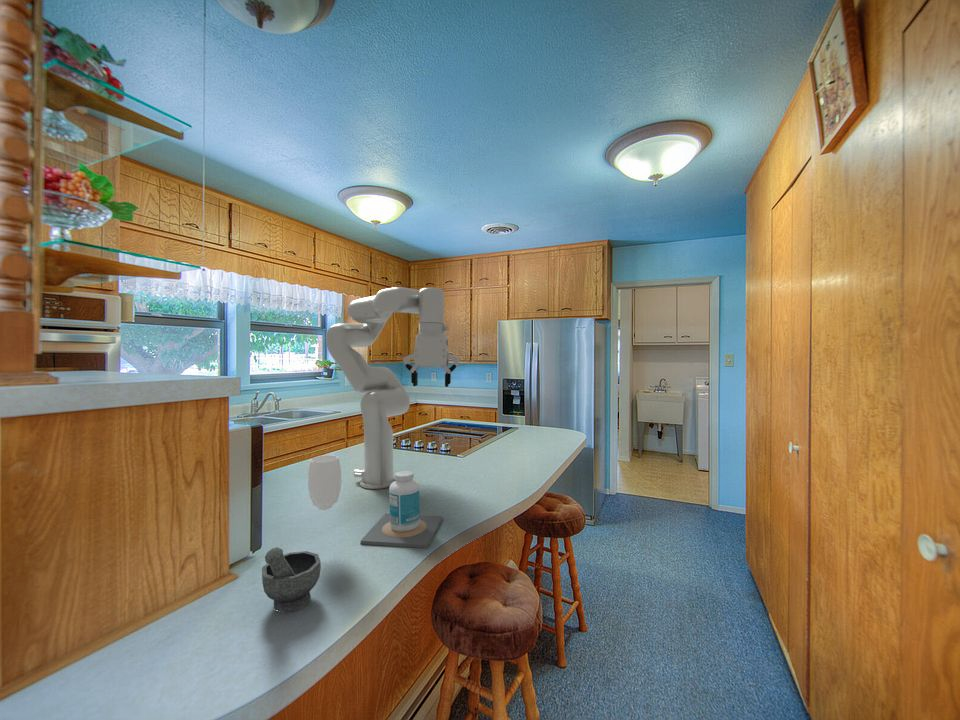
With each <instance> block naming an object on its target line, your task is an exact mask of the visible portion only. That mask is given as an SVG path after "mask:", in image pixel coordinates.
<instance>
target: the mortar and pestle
mask: <svg viewBox="0 0 960 720" xmlns="http://www.w3.org/2000/svg"><path fill="white" fill-rule="evenodd" d="M264 561H265V563H266V564H265V565H263V566H262V567H261V579H262V581H261V582H262V587H263V592H264V593H265V595H266V596H267V597H268V598H269V599H270V600H272V601H273V610H274V609H275V610H278V611H280V612H282V613H281V614H284V613H283V612H288V613H294V611H295V612H296V611H298V610H301V609H302V608H303V609H304V608H305V607H306V606H307V605H308V604H309V603H310V601H311V598H312V596H311V591H312V590H313V589H314V587H315V586H316V585H317V583H318V581H319V579H320V575H321V566H322V565H321V559H320V556H319V554H318V553H315V552H311V551H307V550H306V551H303V550H302V551H295V552H287V553H285V554H284V551H283V549H282V548H280V547H278V546H277V547H274V548H271V549H269V550H268V551H267V552H266V554H265V556H264ZM300 608H301V609H300ZM275 610H274V611H275ZM280 612H279V613H280Z"/></svg>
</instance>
